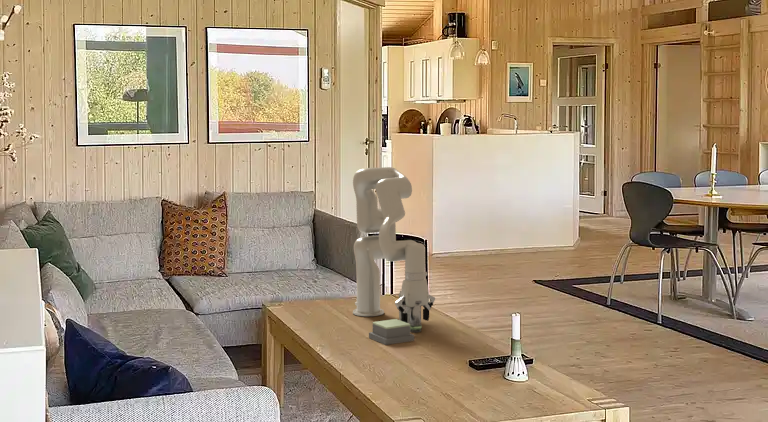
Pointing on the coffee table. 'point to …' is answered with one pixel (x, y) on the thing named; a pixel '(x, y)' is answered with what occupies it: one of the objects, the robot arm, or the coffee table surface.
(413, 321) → the clear jar with lid
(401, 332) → the pedestal
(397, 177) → the robot arm
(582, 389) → the coffee table surface
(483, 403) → the coffee table surface
